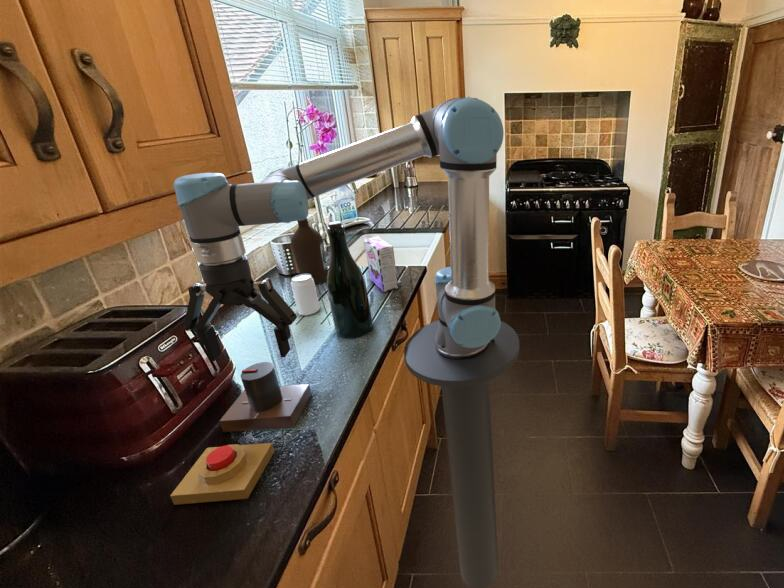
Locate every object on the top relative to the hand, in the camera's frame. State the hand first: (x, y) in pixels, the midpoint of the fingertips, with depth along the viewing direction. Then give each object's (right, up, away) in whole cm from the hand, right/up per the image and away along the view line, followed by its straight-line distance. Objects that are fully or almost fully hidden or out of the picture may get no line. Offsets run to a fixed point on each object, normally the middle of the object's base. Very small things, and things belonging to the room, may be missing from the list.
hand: (251, 355), depth 82 cm
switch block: (+2, -20, -9) cm, 22 cm away
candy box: (+6, +10, +66) cm, 67 cm away
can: (-12, +2, +48) cm, 49 cm away
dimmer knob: (0, -11, +5) cm, 12 cm away
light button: (+2, -16, -10) cm, 19 cm away
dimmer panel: (0, -14, +6) cm, 15 cm away
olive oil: (-21, +11, +71) cm, 75 cm away
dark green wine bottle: (+7, -2, +37) cm, 38 cm away
